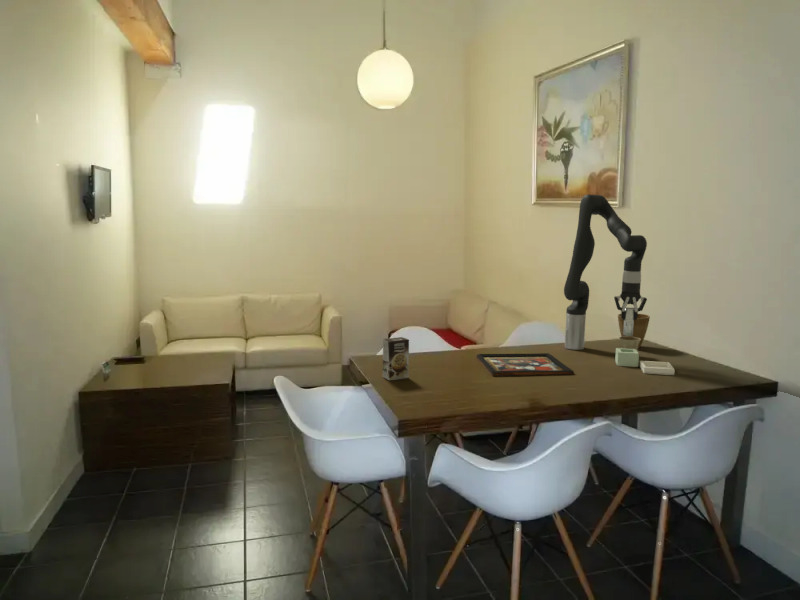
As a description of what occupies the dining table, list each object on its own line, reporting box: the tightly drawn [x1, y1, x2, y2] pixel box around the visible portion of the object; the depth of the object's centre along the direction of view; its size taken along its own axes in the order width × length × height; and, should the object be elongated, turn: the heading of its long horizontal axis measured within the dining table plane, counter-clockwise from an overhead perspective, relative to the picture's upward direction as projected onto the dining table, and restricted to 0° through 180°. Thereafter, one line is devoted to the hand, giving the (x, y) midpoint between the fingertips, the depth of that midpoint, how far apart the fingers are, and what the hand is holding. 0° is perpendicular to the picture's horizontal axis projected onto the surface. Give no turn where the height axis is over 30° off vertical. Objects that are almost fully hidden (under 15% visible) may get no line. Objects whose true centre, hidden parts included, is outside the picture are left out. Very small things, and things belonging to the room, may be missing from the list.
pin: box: [623, 306, 635, 336], centre depth 274 cm, size 4×4×12 cm
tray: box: [638, 360, 676, 376], centre depth 266 cm, size 12×12×2 cm
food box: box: [382, 336, 410, 381], centre depth 253 cm, size 9×6×16 cm
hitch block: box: [614, 347, 640, 368], centre depth 276 cm, size 9×9×6 cm
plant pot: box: [617, 313, 651, 349], centre depth 309 cm, size 15×15×16 cm
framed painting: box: [476, 352, 575, 377], centre depth 273 cm, size 38×35×3 cm
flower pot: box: [619, 336, 641, 351], centre depth 290 cm, size 9×9×9 cm
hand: (628, 319), depth 274 cm, fingers closed on pin, 4 cm apart
